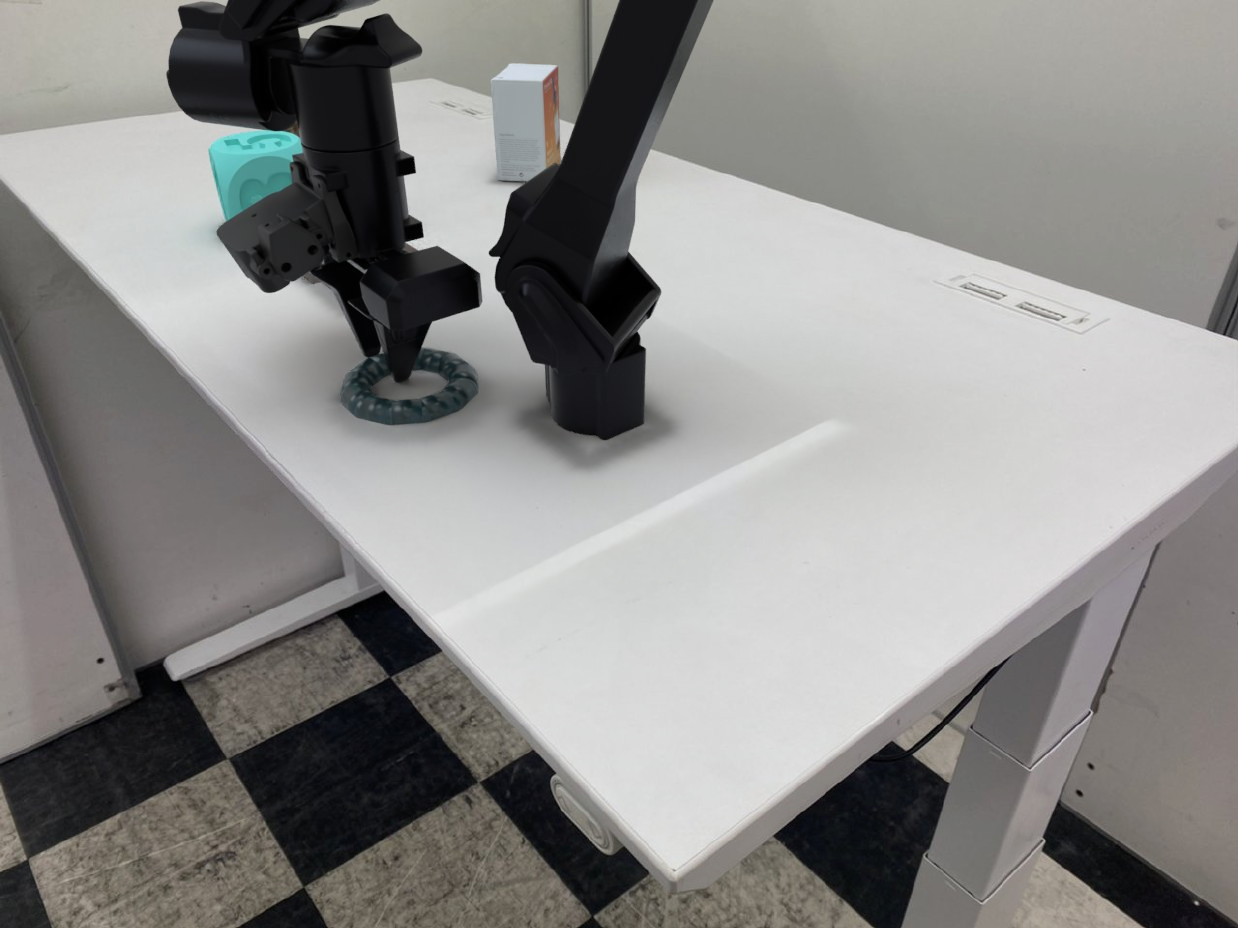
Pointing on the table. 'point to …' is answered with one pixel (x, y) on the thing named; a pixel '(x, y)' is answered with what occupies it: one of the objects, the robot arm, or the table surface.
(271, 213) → the robot arm
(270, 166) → the decorative dice
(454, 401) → the ring
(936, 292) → the table surface
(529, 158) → the small box
